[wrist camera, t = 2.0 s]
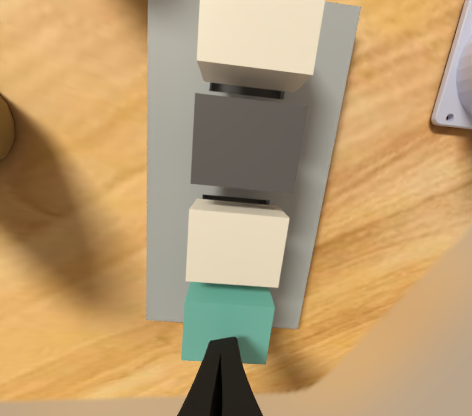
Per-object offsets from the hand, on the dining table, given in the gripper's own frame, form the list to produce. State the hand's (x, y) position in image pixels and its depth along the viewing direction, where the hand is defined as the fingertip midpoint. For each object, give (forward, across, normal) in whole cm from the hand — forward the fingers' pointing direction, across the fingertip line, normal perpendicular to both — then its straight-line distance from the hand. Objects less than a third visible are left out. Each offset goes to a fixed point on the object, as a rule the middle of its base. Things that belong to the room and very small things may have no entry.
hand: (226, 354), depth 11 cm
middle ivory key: (+5, -1, -5) cm, 7 cm away
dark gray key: (+5, -3, -10) cm, 11 cm away
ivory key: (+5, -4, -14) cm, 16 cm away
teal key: (+5, 0, 0) cm, 5 cm away
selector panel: (+7, -2, -7) cm, 10 cm away
